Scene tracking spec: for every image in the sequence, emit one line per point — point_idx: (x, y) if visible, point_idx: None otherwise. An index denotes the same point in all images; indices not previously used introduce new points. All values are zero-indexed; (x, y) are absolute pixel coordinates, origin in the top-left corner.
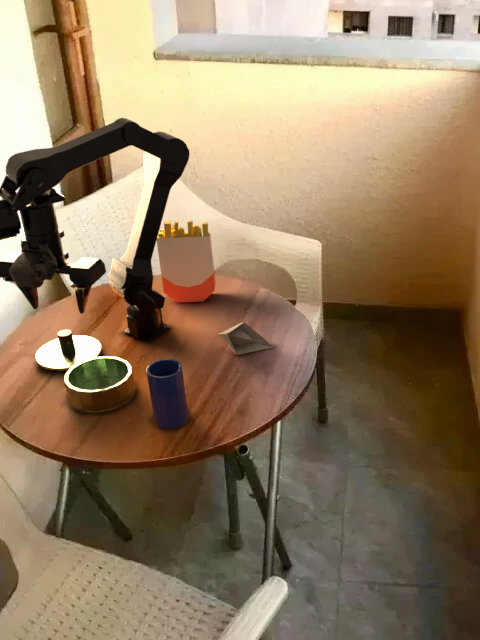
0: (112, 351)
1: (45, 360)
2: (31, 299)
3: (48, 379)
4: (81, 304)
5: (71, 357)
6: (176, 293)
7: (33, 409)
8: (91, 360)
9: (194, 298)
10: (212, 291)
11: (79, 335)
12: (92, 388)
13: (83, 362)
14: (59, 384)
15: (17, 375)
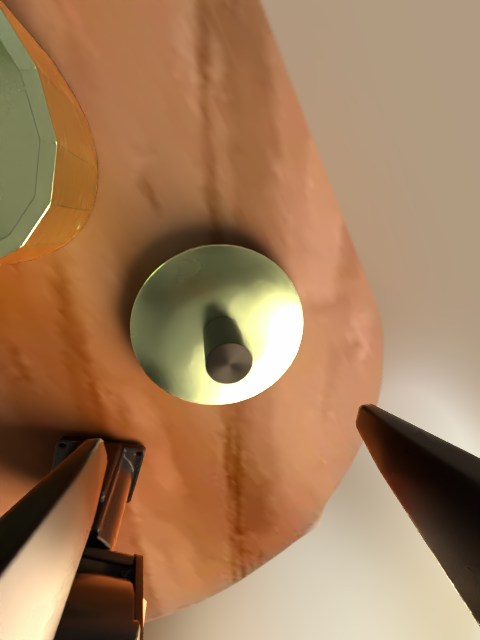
0: (125, 375)
1: (260, 277)
2: (417, 446)
3: (216, 209)
4: (10, 512)
5: (195, 308)
6: None
7: (163, 2)
8: (13, 228)
9: None
10: None
11: (233, 402)
12: (27, 166)
13: (31, 201)
14: (168, 188)
15: (310, 212)
